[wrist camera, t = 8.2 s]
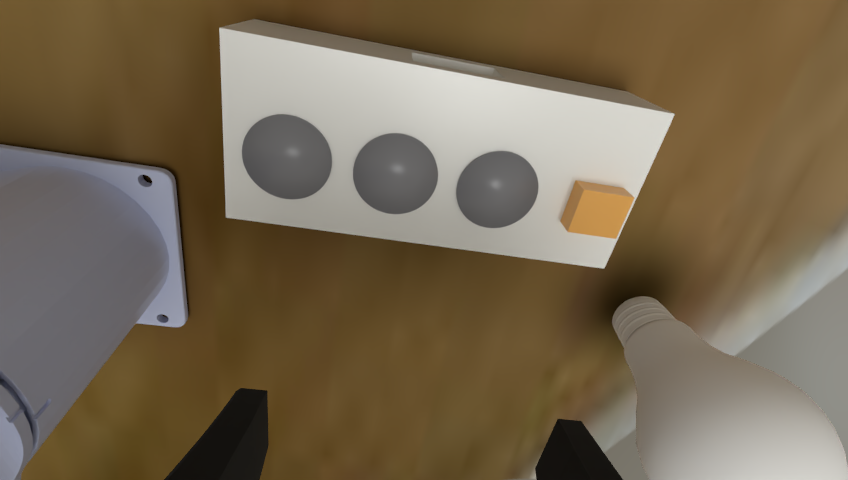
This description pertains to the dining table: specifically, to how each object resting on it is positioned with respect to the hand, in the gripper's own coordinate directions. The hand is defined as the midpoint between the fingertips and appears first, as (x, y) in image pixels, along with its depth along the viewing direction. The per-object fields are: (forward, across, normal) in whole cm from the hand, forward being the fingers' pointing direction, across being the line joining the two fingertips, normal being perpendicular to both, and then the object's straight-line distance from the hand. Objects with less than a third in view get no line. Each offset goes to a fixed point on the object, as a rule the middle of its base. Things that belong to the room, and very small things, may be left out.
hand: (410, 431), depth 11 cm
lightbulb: (+11, -12, +3) cm, 16 cm away
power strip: (+10, 0, -4) cm, 11 cm away
